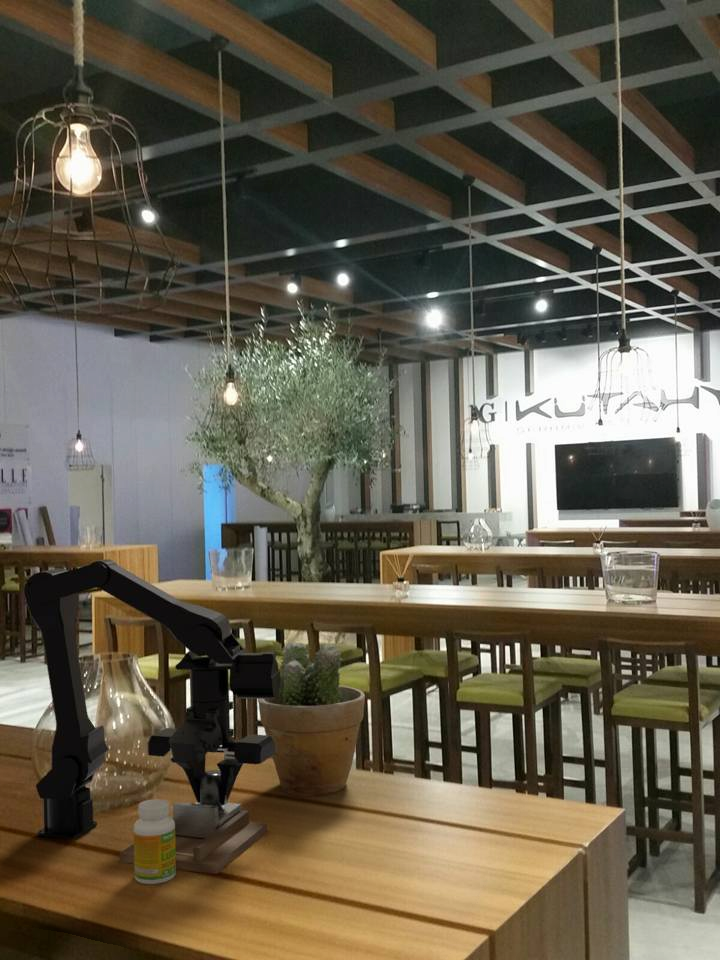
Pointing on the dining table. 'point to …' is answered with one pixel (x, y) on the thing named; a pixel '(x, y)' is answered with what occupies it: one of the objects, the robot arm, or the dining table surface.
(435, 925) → the dining table surface
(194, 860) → the press bed
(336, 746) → the potted plant
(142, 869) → the supplement bottle
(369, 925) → the dining table surface
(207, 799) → the metal press slider
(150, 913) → the dining table surface
